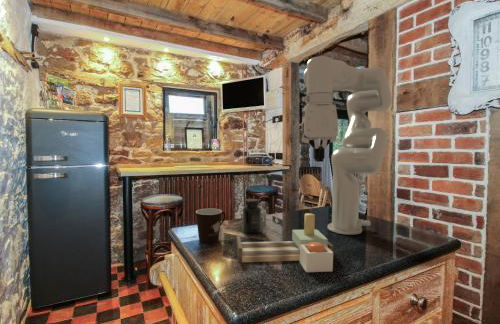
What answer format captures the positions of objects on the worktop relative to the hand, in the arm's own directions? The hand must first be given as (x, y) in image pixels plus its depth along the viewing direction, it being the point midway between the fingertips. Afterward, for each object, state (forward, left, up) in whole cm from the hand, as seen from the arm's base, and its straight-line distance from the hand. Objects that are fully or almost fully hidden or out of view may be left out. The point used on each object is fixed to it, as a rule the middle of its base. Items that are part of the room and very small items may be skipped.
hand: (318, 161), depth 84 cm
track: (+12, +3, -28) cm, 30 cm away
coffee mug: (+33, -10, -28) cm, 44 cm away
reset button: (+5, +12, -25) cm, 28 cm away
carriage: (+4, +3, -25) cm, 25 cm away
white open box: (+5, +12, -28) cm, 31 cm away
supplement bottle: (+19, -18, -28) cm, 38 cm away
